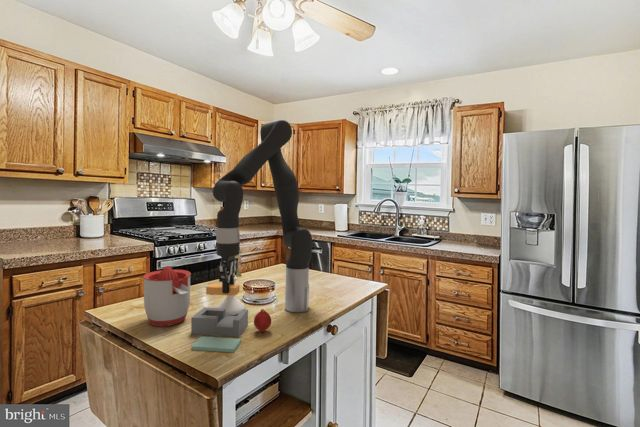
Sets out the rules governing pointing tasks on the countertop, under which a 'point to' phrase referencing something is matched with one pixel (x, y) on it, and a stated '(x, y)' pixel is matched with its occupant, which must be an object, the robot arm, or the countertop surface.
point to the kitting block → (218, 322)
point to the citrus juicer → (166, 296)
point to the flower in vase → (232, 299)
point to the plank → (217, 289)
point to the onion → (262, 320)
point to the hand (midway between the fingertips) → (228, 290)
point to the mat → (216, 344)
